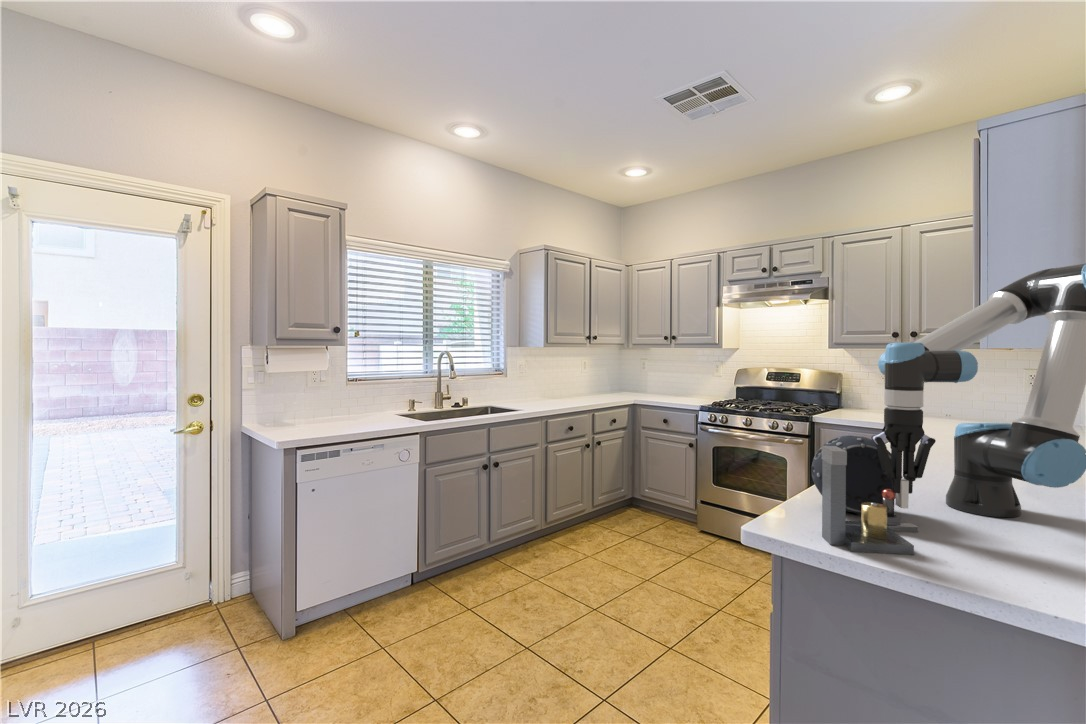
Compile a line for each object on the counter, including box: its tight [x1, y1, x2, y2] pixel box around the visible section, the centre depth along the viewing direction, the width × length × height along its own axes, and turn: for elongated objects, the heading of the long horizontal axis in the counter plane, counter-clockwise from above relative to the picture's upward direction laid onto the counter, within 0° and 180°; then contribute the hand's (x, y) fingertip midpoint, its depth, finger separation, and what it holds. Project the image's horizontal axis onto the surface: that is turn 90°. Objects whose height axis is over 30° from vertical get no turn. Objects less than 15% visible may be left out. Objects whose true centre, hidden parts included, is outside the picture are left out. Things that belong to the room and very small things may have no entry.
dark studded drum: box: [811, 435, 896, 516], centre depth 133 cm, size 11×20×20 cm, turn 78°
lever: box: [881, 489, 902, 525], centre depth 120 cm, size 4×3×8 cm
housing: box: [860, 502, 887, 539], centre depth 111 cm, size 5×5×7 cm
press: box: [821, 445, 919, 556], centre depth 113 cm, size 23×17×21 cm
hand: (901, 506), depth 119 cm, fingers closed
